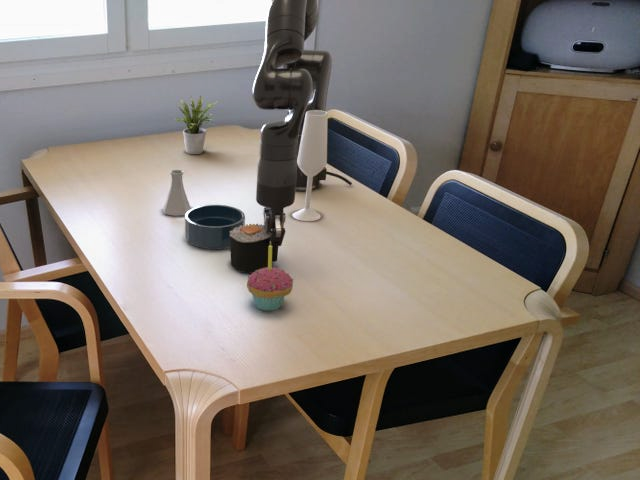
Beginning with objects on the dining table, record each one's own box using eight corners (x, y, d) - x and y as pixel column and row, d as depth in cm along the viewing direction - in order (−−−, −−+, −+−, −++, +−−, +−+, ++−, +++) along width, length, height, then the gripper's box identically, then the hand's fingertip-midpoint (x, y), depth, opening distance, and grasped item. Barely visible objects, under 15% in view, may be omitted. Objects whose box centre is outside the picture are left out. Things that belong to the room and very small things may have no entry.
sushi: (224, 262, 143) (222, 227, 139) (258, 252, 146) (257, 217, 141) (244, 277, 137) (243, 240, 132) (279, 265, 139) (279, 229, 135)
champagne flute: (323, 212, 164) (335, 110, 151) (316, 222, 159) (328, 117, 146) (296, 209, 167) (305, 108, 153) (288, 218, 162) (297, 115, 148)
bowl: (240, 226, 159) (241, 203, 156) (246, 250, 148) (248, 226, 145) (184, 227, 159) (184, 205, 156) (186, 251, 148) (186, 228, 145)
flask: (189, 217, 164) (189, 177, 158) (160, 216, 165) (159, 175, 160) (194, 206, 170) (194, 167, 164) (165, 205, 171) (164, 166, 165)
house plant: (220, 159, 200) (222, 102, 191) (173, 160, 201) (173, 103, 191) (217, 145, 212) (219, 90, 203) (173, 146, 212) (172, 91, 203)
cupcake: (242, 295, 131) (244, 237, 124) (285, 292, 131) (290, 235, 125) (250, 317, 124) (254, 257, 117) (296, 314, 124) (302, 254, 117)
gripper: (302, 190, 126) (295, 274, 135) (290, 167, 137) (284, 246, 146) (261, 191, 126) (257, 275, 135) (253, 168, 137) (249, 247, 146)
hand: (271, 260), depth 141 cm, fingers closed
